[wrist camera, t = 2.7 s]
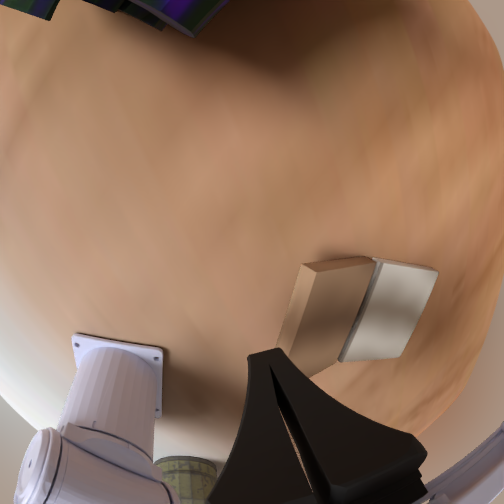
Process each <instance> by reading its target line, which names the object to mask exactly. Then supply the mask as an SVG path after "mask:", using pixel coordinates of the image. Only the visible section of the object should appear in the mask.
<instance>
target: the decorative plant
mask: <svg viewBox="0 0 504 504" xmlns="http://www.w3.org/2000/svg"><path fill="white" fill-rule="evenodd" d="M59 1H60V0H0V4H1V5H4V6H7V7H10V8H13V9H16V10H19V11H21V12H24V13H27V14H30V15H33V16H36V17H39V18H42V19H45V20H48V21H50V20H51V18H52V16H53V13H54V11H55V9H56V7H57V5H58V3H59ZM83 1H85V2H88V3H91V4H93V5H96V6H99V7H101V8H103V9H106V10H108V11H111V12H113V13H115V12H116V11H117V10H120V11H122V12H125V13H127V14H129V15H131V16H133V17H135V18H137V19H139V20H141V21H143V22H145V23H147V24H149V25H150V26H152V27H154V28H156V29H158V30H160V31H162V30H163V29H164V28H165V26H166V25H167V24H169V25H170V26H171V27H173V28H175V29H177V30H178V31H180V32H182V33H183V34H185V35H188V36H190V37H192V38H195V37H196V36H197V35H198V34H199V33H200V31H201V30H202V29H203V28H204V27H205V26H206V25H207V24H208V23H209V22H210V20H211V19H212V18H213V17H214V16H215V15H216V14H217V13H218V12H219V11H220V10H221V9H222V8H223V7H224V6H225V5H226V4H227V3H228V2H229V1H230V0H83Z"/></svg>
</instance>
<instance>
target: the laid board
mask: <svg viewBox="0 0 504 504" xmlns="http://www.w3.org/2000/svg"><path fill="white" fill-rule="evenodd" d="M372 260H373V261H375V262H377V263H376V266H375V269H374V271H373V274H372V277H371V280H370V282H369V285H368V288H367V290H366V293H365V296H364V298H363V301H362V303H361V306H360V308H359V311H358V313H357V316H356V318H355V320H354V323H353V325H352V327H351V330H350V332H349V334H348V337H347V339H346V341H345V343H344V346H343V348H342V350H341V352H340V354H339V356H338V361H339V362H352V361H366V360H377V359H388V358H397V357H400V355H401V354H402V352H403V350H404V348H405V346H406V344H407V342H408V340H409V339H410V337H411V335H412V333H413V331H414V329H415V327H416V325H417V322H418V320H419V318H420V316H421V314H422V312H423V310H424V307H425V305H426V303H427V301H428V298H429V296H430V294H431V291H432V289H433V286H434V284H435V281H436V279H437V276H438V274H439V272H438V271H436V270H435V269H433V268H432V267H427V266H421V265H415V264H410V263H404V262H399V261H393V260H387V259H381V258H376V257H373V258H372Z"/></svg>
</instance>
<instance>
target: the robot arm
mask: <svg viewBox="0 0 504 504" xmlns="http://www.w3.org/2000/svg"><path fill="white" fill-rule="evenodd" d="M71 339H72V345H73V351H74V356H75V361H76V366H77V372H76V375H75V377H74V380H73V382H72V385H71V388H70V391H69V393H68V396H67V399H66V402H65V405H64V408H63V411H62V414H61V417H60V420H59V423H58V426H57V429H56V430H55V429H53V428H51V427H49V428H47V429H43V430H39V431H38V432H37V433H36V434H35V436H34V437H33V439H32V441H31V443H30V444H29V447H28V449H27V451H26V453H25V456H24V459H23V462H22V465H21V468H20V472H19V476H18V483H17V488H16V491H15V495H14V504H180V500H179V497H178V495H177V493H176V491H175V490H174V488H173V487H172V486H171V485H170V484H168V483H167V482H165V481H162V468H160V467H158V466H156V465H155V464H153V444H154V423H155V418H160V417H161V416H162V371H163V350H162V349H160V348H158V347H151V346H144V345H137V344H131V343H125V342H119V341H113V340H108V339H102V338H97V337H92V336H87V335H82V334H78V333H75V334H73V335H72V338H71ZM77 343H78V344H79V345H78V344H77ZM155 357H159V358H155ZM247 360H248V385H247V394H246V400H245V406H244V411H243V415H242V419H241V423H240V427H239V430H238V434H237V437H236V439H235V442H234V445H233V448H232V450H231V453H230V455H229V458H228V460H227V462H226V464H225V466H224V468H223V470H222V472H221V474H220V476H219V478H218V480H217V482H216V483H215V485H214V487H213V488H212V490H211V492H210V493H209V495H208V496H207V498H206V502H205V504H422V503H423V502H425V501H427V500H428V499H430V500H429V503H428V504H489V503H490V502H492V501H493V500H494V498H496V497H497V496H498V494H500V493H501V492H502V490H503V489H504V421H503V423H502V424H501V426H500V427H499V428H498V429H497V430H496V431H495V432H494V433H493V434H492V435H490V436H489V437H488V438H487V439H486V440H485V441H484V442H483V443H481V444H480V445H479V446H478V447H477V448H476V449H474V450H473V451H472V452H471V453H469V454H468V455H467V456H465V457H464V458H463V459H462V460H460V461H459V462H458V463H456V464H455V465H454V466H452V467H451V468H449V469H448V470H446V471H445V472H444V473H442V474H441V475H439V476H438V477H436V478H435V479H433V480H432V481H430V482H428V483H427V484H425V485H424V484H423V482H422V481H421V479H420V478H421V477H422V475H421V473H420V471H419V470H418V468H419V467H420V466H421V464H422V463H423V462H424V460H425V459H426V457H427V451H426V450H425V448H424V447H423V445H422V444H421V443H420V442H419V441H418V440H417V439H416V438H415V437H414V436H413V435H412V434H410V433H406V432H403V431H399V430H396V429H393V428H390V427H387V426H385V425H382V424H380V423H377V422H375V421H373V420H371V419H369V418H367V417H365V416H362V415H360V414H358V413H356V412H355V411H353V410H351V409H349V408H348V407H346V406H344V405H343V404H341V403H340V402H338V401H337V400H335V399H334V398H332V397H331V396H329V395H328V394H327V393H325V392H324V391H323V390H322V389H320V388H319V387H318V386H317V385H315V384H314V383H313V382H312V381H311V380H310V379H309V378H308V377H307V376H305V375H304V374H303V373H302V372H301V371H300V370H299V369H298V368H297V367H296V366H295V364H294V363H293V362H292V361H291V360H290V359H289V358H288V356H287V355H286V354H285V353H284V351H283V350H282V349H281V348H279V347H278V348H274V349H270V350H267V351H263V352H259V353H255V354H251V355H249V356H248V357H247ZM278 406H279V407H278ZM279 409H280V410H279ZM280 411H281V413H282V415H283V417H284V420H285V422H286V424H287V426H288V428H289V431H290V433H291V435H292V437H293V439H294V441H295V443H296V446H297V448H298V451H299V453H300V456H301V459H302V462H303V465H304V468H305V471H306V473H307V476H308V479H309V482H310V485H311V487H310V485H309V483H308V480H307V478H306V476H305V474H304V471H303V469H302V467H301V464H300V462H299V459H298V457H297V454H296V452H295V450H294V447H293V445H292V442H291V439H290V437H289V434H288V432H287V429H286V426H285V424H284V421H283V418H282V416H281V413H280ZM311 488H312V489H311ZM312 491H313V492H312Z"/></svg>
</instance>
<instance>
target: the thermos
mask: <svg viewBox="0 0 504 504" xmlns="http://www.w3.org/2000/svg"><path fill="white" fill-rule="evenodd" d="M154 464H155V465H156V466H158V467H160V468H162V481H165V482H167V483H168V484H170V485H171V486H172V487H173V488H174V490H175V491H176V493H177V495H178V497H179V500H180V504H205V502H206V498H207V496H208V495H209V493H210V492H211V490H212V488H213V487H214V485H215V483H216V482H217V475H216V467H215V465H214V464H213V463H211V462H209V461H208V460H204V459H201V458H197V457H190V456H172V457H165V458H162V459H159V460H157V461H156V462H155V463H154Z"/></svg>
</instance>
